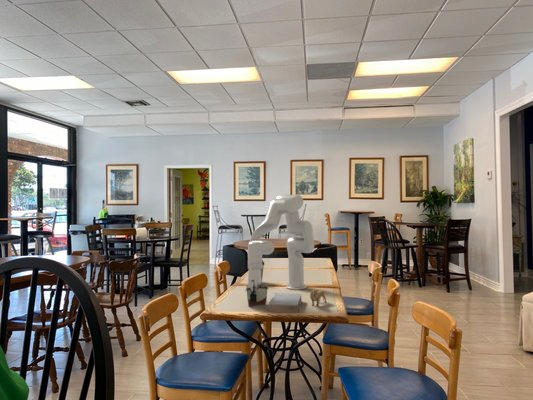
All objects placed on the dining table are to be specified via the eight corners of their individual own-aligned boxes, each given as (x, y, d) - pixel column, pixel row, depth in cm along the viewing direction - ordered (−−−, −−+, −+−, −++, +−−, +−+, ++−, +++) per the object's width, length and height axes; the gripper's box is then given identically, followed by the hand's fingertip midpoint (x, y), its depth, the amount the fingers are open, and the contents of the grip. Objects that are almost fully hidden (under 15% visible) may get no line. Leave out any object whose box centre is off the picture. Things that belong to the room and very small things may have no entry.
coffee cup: (265, 280, 237) (265, 259, 237) (264, 284, 226) (263, 261, 226) (249, 280, 238) (249, 259, 238) (246, 284, 227) (246, 261, 227)
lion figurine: (318, 309, 171) (317, 290, 171) (308, 307, 174) (307, 289, 174) (328, 301, 184) (327, 284, 184) (318, 300, 187) (318, 283, 187)
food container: (265, 301, 186) (264, 283, 186) (268, 304, 180) (268, 285, 180) (243, 304, 182) (242, 284, 182) (245, 307, 176) (245, 287, 176)
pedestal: (275, 300, 188) (275, 293, 188) (301, 301, 185) (301, 293, 185) (268, 311, 168) (268, 303, 168) (297, 312, 166) (297, 304, 166)
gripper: (251, 262, 190) (252, 295, 189) (243, 268, 173) (243, 303, 172) (265, 263, 189) (265, 295, 188) (258, 268, 172) (258, 304, 171)
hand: (255, 299), depth 180 cm, fingers open, 7 cm apart
